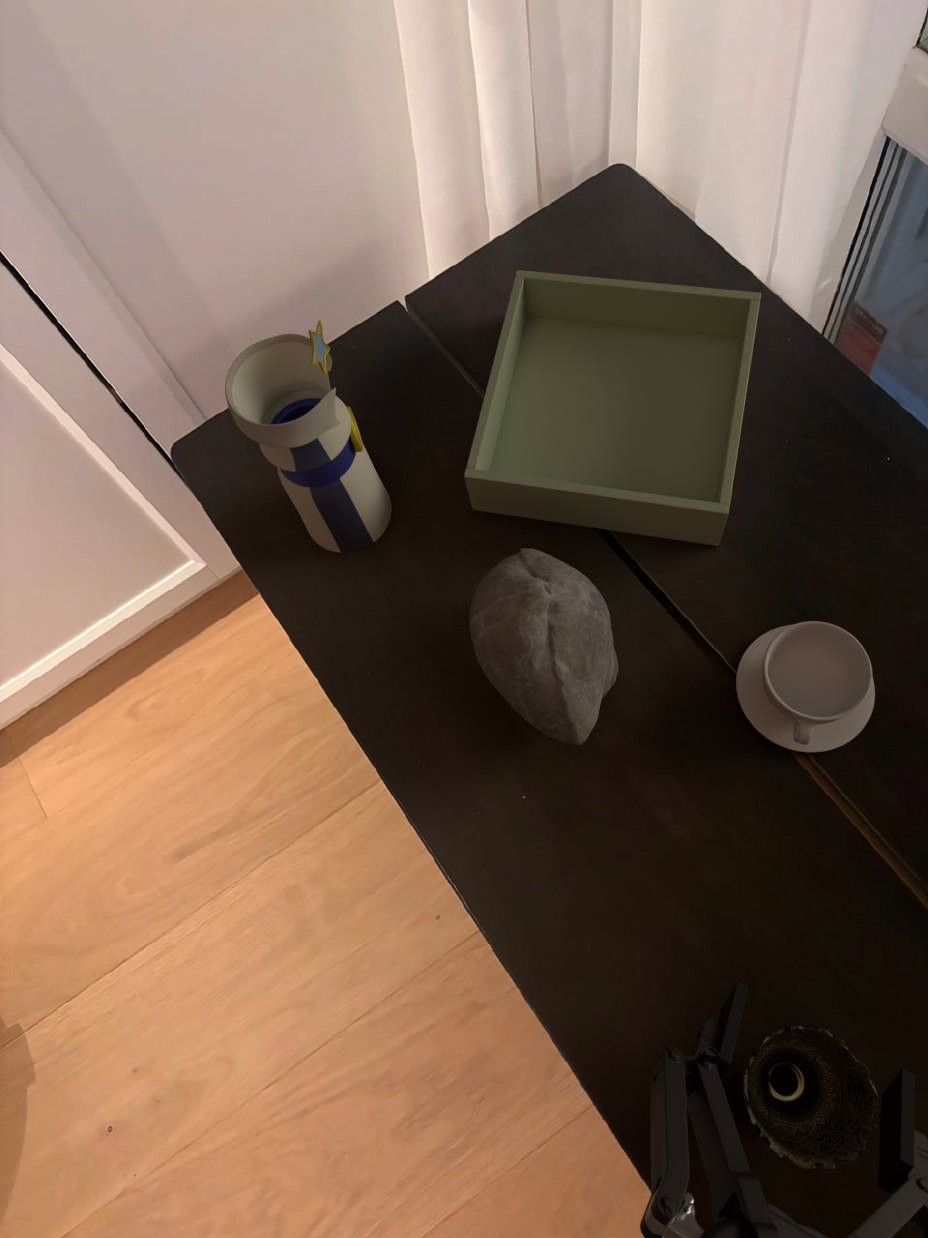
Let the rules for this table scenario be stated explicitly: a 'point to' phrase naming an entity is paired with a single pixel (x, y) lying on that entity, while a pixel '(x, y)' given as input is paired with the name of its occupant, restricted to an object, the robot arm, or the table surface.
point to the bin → (615, 405)
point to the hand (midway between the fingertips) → (814, 1040)
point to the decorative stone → (545, 642)
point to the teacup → (806, 686)
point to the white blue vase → (309, 438)
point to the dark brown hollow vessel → (810, 1097)
